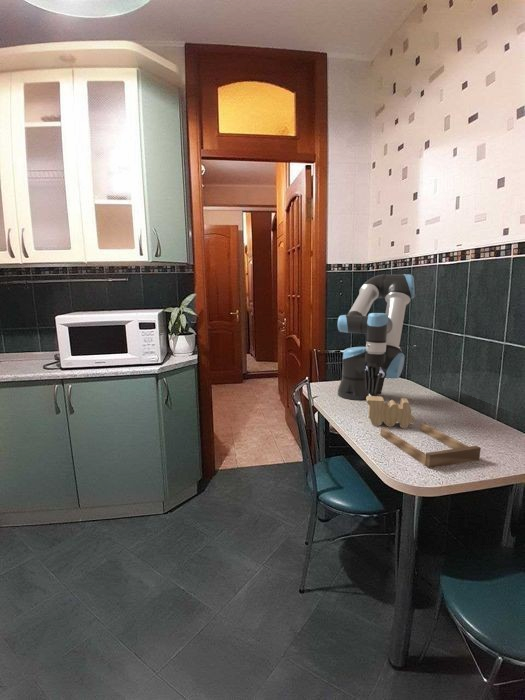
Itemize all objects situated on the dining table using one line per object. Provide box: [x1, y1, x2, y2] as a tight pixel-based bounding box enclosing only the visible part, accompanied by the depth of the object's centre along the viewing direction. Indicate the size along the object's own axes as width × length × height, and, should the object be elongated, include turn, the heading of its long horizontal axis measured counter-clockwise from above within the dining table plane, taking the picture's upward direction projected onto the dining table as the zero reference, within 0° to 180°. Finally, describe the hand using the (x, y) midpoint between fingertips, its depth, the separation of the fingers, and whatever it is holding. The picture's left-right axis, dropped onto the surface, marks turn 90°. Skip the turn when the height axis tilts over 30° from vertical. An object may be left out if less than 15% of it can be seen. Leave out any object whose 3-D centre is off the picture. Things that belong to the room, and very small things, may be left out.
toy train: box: [365, 395, 416, 429], centre depth 131 cm, size 6×17×10 cm, turn 77°
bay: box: [379, 423, 482, 469], centre depth 112 cm, size 24×18×4 cm
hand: (371, 409), depth 142 cm, fingers closed
